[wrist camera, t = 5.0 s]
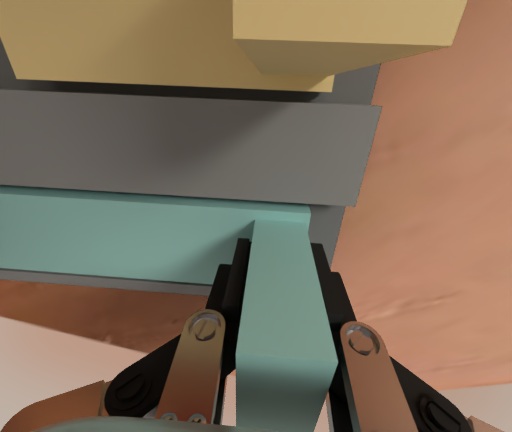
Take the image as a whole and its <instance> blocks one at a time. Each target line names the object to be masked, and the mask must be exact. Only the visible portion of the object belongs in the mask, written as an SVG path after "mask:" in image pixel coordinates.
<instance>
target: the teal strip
mask: <svg viewBox="0 0 512 432" xmlns="http://www.w3.org/2000/svg"><path fill="white" fill-rule="evenodd" d="M310 217H311V212H310V208H309V205H308V204H304V203H288V202H272V201H256V200H240V199H224V198H208V197H192V196H176V195H159V194H143V193H127V192H111V191H95V190H79V189H63V188H47V187H31V186H15V185H0V268H8V269H21V270H34V271H47V272H59V273H72V274H85V275H98V276H111V277H124V278H137V279H149V280H162V281H175V282H188V283H201V284H213V282H214V279H215V276H216V273H217V269H218V266H219V264H232V261H233V257H234V253H235V249H236V245H237V240H238V238H249V239H250V242H252V244H251V251H250V258H249V265H248V272H247V279H246V286H245V293H244V300H243V306H242V313H241V320H240V327H239V334H238V341H237V348H236V427H246V428H256V429H266V430H275V431H285V432H314V429H315V426H316V423H317V421H318V418H319V415H320V412H321V409H322V406H323V404H324V401H325V398H326V395H327V393H328V390H329V387H330V384H331V381H332V379H333V376H334V373H335V370H336V367H337V365H338V359H337V355H336V351H335V346H334V342H333V338H332V334H331V330H330V325H329V321H328V317H327V313H326V308H325V304H324V300H323V296H322V291H321V287H320V283H319V279H318V274H317V270H316V266H315V262H314V257H313V253H312V249H311V245H310V240H309V236H308V229H309V223H310Z"/></svg>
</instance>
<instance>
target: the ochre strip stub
mask: <svg viewBox="0 0 512 432" xmlns="http://www.w3.org/2000/svg"><path fill="white" fill-rule="evenodd" d="M466 3H467V0H0V38H1V40H2V43H3V45H4V48H5V50H6V53H7V55H8V58H9V61H10V63H11V66H12V68H13V71H14V73H15V76H16V78H17V79H30V80H53V81H77V82H101V83H124V84H148V85H172V86H195V87H219V88H243V89H266V90H290V91H313V92H332V87H333V81H334V75H335V74H339V73H343V72H347V71H351V70H355V69H359V68H363V67H367V66H372V65H376V64H380V63H384V62H388V61H392V60H396V59H400V58H404V57H408V56H412V55H416V54H420V53H424V52H428V51H433V50H437V49H441V48H445V47H449V46H451V45H452V42H453V40H454V37H455V34H456V31H457V28H458V26H459V23H460V20H461V17H462V14H463V12H464V9H465V6H466Z"/></svg>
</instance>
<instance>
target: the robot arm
mask: <svg viewBox="0 0 512 432" xmlns="http://www.w3.org/2000/svg"><path fill="white" fill-rule="evenodd" d="M251 244H252V242H250V239H249V238H238V240H237V245H236V249H235V253H234V257H233V261H232V264H219V266H218V269H217V273H216V276H215V279H214V282H213V285H212V289H211V292H210V295H209V298H208V301H207V305H206V308H205V310H200V311H198V312H196V313H194V314H193V315H191V316H190V317H189V318H188V319H187V321H186V323H185V325H184V328H183V331H182V334H180V335H179V336H177V337H175V338H174V339H172V340H171V341H169V342H167V343H166V344H164V345H163V346H161V347H159V348H158V349H156V350H155V351H153V352H151V353H150V354H148V355H147V356H145V357H143V358H142V359H140V360H139V361H137V362H136V363H134V364H132V365H131V366H129V367H128V368H126V369H124V370H123V371H122V372H121V373H119V374H118V375H117V376H116V377H115V378H114V379H113V380H112V381H109V382H106V383H105V382H104V380H102V381H99V382H96V383H93V384H90V385H87V386H84V387H81V388H78V389H75V390H72V391H69V392H66V393H63V394H60V395H57V396H54V397H51V398H48V399H45V400H42V401H39V402H36V403H33V404H31V405H29V406H27V407H25V408H23V409H22V410H21V411H19V412H18V413H17V414H15V415H14V416H13V417H12V418H11V419H10V420H9V421H8V422H7V424H6V425H5V426H4V427H3V429H2V430H1V432H285V431H275V430H266V429H256V428H246V427H235V426H225V425H222V418H223V409H224V401H225V393H226V384H227V376H228V375H229V374H230V373H231V372H232V371H233V370H235V369H236V348H237V341H238V334H239V327H240V320H241V313H242V306H243V300H244V293H245V286H246V279H247V272H248V265H249V258H250V251H251ZM310 245H311V249H312V253H313V257H314V262H315V266H316V270H317V274H318V279H319V283H320V287H321V291H322V296H323V300H324V304H325V308H326V313H327V317H328V321H329V325H330V330H331V334H332V338H333V342H334V346H335V351H336V355H337V359H338V365H337V367H336V370H335V373H334V376H333V379H332V381H331V384H330V387H329V390H328V393H327V395H326V406H327V414H328V422H329V430H330V432H503V431H501V430H499V429H497V428H495V427H493V426H491V425H489V424H487V423H485V422H483V421H481V420H479V419H477V418H475V417H473V416H470V417H469V418H467V417H465V416H464V415H463V414H462V413H461V412H460V411H459V409H458V408H457V407H456V406H455V405H454V404H452V403H451V402H450V401H449V400H448V399H446V398H445V397H444V396H442V395H441V394H439V393H438V392H437V391H436V390H434V389H433V388H432V387H430V386H429V385H428V384H426V383H425V382H424V381H422V380H421V379H420V378H418V377H417V376H416V375H414V374H413V373H412V372H410V371H409V370H408V369H406V368H405V367H404V366H402V365H401V364H400V363H398V362H397V361H396V360H394V359H393V358H392V357H390V356H389V354H388V351H387V349H386V346H385V344H384V341H383V340H382V338H381V336H380V335H379V334H378V333H377V332H376V330H374V329H373V328H372V327H370V326H368V325H366V324H364V323H361V322H357V320H356V318H355V315H354V312H353V309H352V306H351V303H350V301H349V298H348V295H347V292H346V289H345V287H344V284H343V281H342V278H341V276H340V274H339V273H338V272H331V270H330V267H329V264H328V261H327V257H326V254H325V251H324V248H323V245H322V243H310Z"/></svg>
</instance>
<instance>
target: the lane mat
mask: <svg viewBox="0 0 512 432" xmlns="http://www.w3.org/2000/svg"><path fill="white" fill-rule="evenodd" d="M380 65H381V63H380V64H376V65H372V66H367V67H363V68H359V69H355V70H351V71H347V72H343V73H339V74H335V75H334V81H333V87H332V92H313V91H290V90H266V89H243V88H219V87H195V86H172V85H148V84H124V83H101V82H77V81H53V80H30V79H17V78H16V76H15V73H14V71H13V68H12V66H11V63H10V61H9V58H8V55H7V53H6V50H5V48H4V45H3V43H2V40H1V38H0V185H15V186H31V187H47V188H63V189H79V190H95V191H111V192H127V193H143V194H159V195H176V196H192V197H208V198H224V199H240V200H256V201H272V202H288V203H304V204H308V205H309V208H310V212H311V217H310V223H309V229H308V236H309V240H310V243H322V245H323V248H324V251H325V254H326V257H327V261H328V264H329V267H331V263H332V259H333V255H334V251H335V247H336V243H337V239H338V235H339V231H340V227H341V223H342V219H343V215H344V211H345V207H346V206H352V207H355V206H356V202H357V198H358V195H359V191H360V187H361V184H362V180H363V176H364V172H365V169H366V165H367V161H368V157H369V154H370V150H371V146H372V143H373V139H374V135H375V131H376V128H377V124H378V120H379V117H380V113H381V109H382V106H376V105H371V101H372V97H373V93H374V89H375V85H376V81H377V77H378V73H379V69H380ZM0 279H2V280H14V281H27V282H39V283H52V284H64V285H77V286H89V287H102V288H114V289H127V290H139V291H152V292H164V293H177V294H189V295H202V296H209V295H210V292H211V289H212V285H213V284H201V283H188V282H175V281H162V280H149V279H137V278H124V277H111V276H98V275H85V274H72V273H59V272H47V271H34V270H21V269H8V268H0Z"/></svg>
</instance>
